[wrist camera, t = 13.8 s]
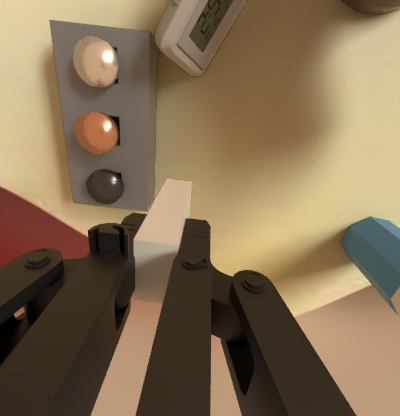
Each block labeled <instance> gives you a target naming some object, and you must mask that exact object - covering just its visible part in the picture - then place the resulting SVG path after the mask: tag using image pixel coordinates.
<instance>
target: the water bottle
mask: <svg viewBox="0 0 400 416" xmlns="http://www.w3.org/2000/svg"><path fill="white" fill-rule="evenodd" d="M341 243H342V245H343V247H344V249H345V252H346V254H347V256H348V257H349V258H350V259H351V260H352V262H353V263H354V264H355V265H356V266H357V267H358V269H359V270H360V271H361V272H362V273H363V275H364V276H365V277H366V278H367V279H368V280H369V282H370V283H371V284H372V285H373V286H374V287H375V289H376V290H377V291H378V292H379V294H380V295H381V296H382V297H383V298H384V299H385V301H386V302H387V303H388V304H389V305H390V307H391V308H392V309H393V310H394V311H395V312H396V314H397V315H398V316H399V317H400V228H398V227H397V226H395V225H394V224H393V223H391V222H390V221H387V220H383V219H379V218H374V217H368V218H366V219H364V220H361V221H359V222H357V223H355V224H353V225H350V226H349V228H348V230H347V232H346V234H345V235H344V237H343V239H342V241H341Z"/></svg>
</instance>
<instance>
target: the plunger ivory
mask: <svg viewBox="0 0 400 416" xmlns="http://www.w3.org/2000/svg"><path fill="white" fill-rule="evenodd" d="M73 63H74V67H75V69H76V71H77V73H78V75H79V76H80V77H81V79H82V80H83V81H85V82H86V83H87V84H89V85H91V86H95V87H108V86H110V85H112V84H113V83H114V82H115V81H116V80H117V79H118V76H119V73H120V61H119V57H118V55H117V53H116V51H115V50H114V48H113V47H112V46H111V45H110V44H109V43H108V42H106V41H104V40H102V39H100V38H98V37H95V36H87V37H84V38H82V39H81V40H79V41H78V43H77V44H76V46H75V48H74V51H73Z"/></svg>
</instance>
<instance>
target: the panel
mask: <svg viewBox="0 0 400 416" xmlns="http://www.w3.org/2000/svg"><path fill="white" fill-rule="evenodd" d="M50 28H51V35H52V43H53V51H54V58H55V66H56V74H57V81H58V89H59V96H60V104H61V112H62V119H63V127H64V135H65V142H66V150H67V158H68V165H69V173H70V181H71V188H72V196H73V203H79V204H87V205H96V206H105V207H113V208H122V209H131V210H139V211H148V209H149V207H150V206H151V204H152V202H153V200H154V182H155V144H156V105H157V66H158V47H157V45H156V41H155V37H154V36H153V35H152V34H151V33H150V32H148V31H140V30H131V29H123V28H114V27H106V26H97V25H89V24H80V23H71V22H63V21H54V20H50ZM87 36H95V37H98V38H100V39H102V40H104V41H106V42H108V43H109V44H110V45H111V46H112V47H113V48H114V50H115V51H116V53H117V55H118V57H119V61H120V73H119V76H118V79H117V80H116V81H115V82H114V83H113V84H112V85H110V86H108V87H95V86H91V85H89V84H87V83H86V82H85V81H83V80H82V79H81V77H80V76H79V75H78V73H77V71H76V69H75V67H74V63H73V51H74V48H75V46H76V44H77V43H78V41H79V40H81V39H82V38H84V37H87ZM92 111H99V112H103V113H105V114H107V115H108V116H109V117H112V118H115V119H116V120H117V121H118V122H119V123H120V136H119V138H118V142H117V144H116V146H115V147H114V148H113V149H112V150H110V151H108V152H106V153H103V154H95V153H91V152H89V151H87V150H86V149H85V148H83V147H82V146H81V144H80V143H79V142H78V140H77V138H76V134H75V123H76V121H77V119H78V118H79V116H81V115H82V114H84V113H86V112H92ZM99 169H108V170H111V171H113V172H118V173H121V176H122V181H123V184H124V192H123V194H122V196H121V197H120V198H119V199H118V200H117V201H116V202H115V203H113V204H101V203H98V202H96V201H95V200H94V199H92V198H91V196H90V195H89V194H88V192H87V189H86V181H87V178H88V177H89V176H90V175H91V174H92V173H94V172H95V171H97V170H99Z"/></svg>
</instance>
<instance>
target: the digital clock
mask: <svg viewBox="0 0 400 416" xmlns="http://www.w3.org/2000/svg"><path fill="white" fill-rule="evenodd" d="M246 1H247V0H170V2H169V4H168V6H167V8H166V10H165V12H164V14H163V16H162V18H161V21H160V23H159V25H158V27H157V29H156V32H155V41H156V45H157V47H158V48H159V49H160V51H161V52H162V53H164V54H165V55H166V56H167V57H168V58H169V59H171V60H172V61H173V62H174V63H176V64H177V65H178V66H179V67H181V68H182V69H183V70H184V71H186V72H187V73H188V74H189V75H191V76H193V77H195V76H200V75H202V74H203V72H204V71H205V69H206V68H207V66H208V64H209V63H210V61H211V60H212V58H213V56H214V55H215V53H216V51H217V50H218V48H219V46H220V45H221V43H222V41H223V40H224V38H225V36H226V35H227V33H228V31H229V30H230V28H231V26H232V25H233V23H234V21H235V20H236V18H237V16H238V15H239V13H240V11H241V10H242V8H243V6H244V5H245V3H246Z"/></svg>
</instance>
